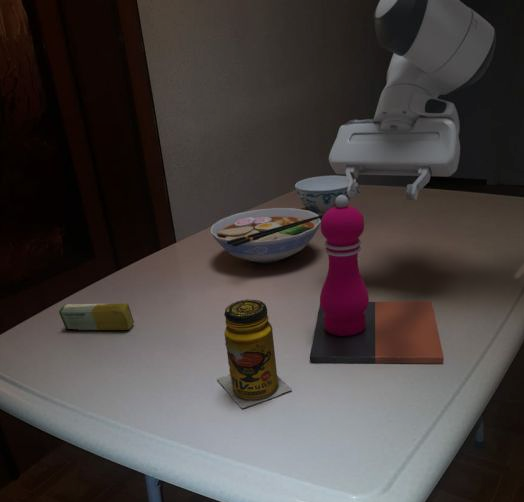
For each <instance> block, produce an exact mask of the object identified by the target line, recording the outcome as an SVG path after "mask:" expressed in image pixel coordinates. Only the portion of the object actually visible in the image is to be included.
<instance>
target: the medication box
mask: <svg viewBox="0 0 524 502" xmlns="http://www.w3.org/2000/svg"><path fill="white" fill-rule="evenodd" d="M58 315H59V317H60V318H61V320H62V323H63V325H64V328H65V330H66V329H78V330H77V331H129V330H131V328H132V327H133V326H134V323H135V320H134V317H133V314H132V312H131V308H130V305H129V303H125V302H124V303H121V302H120V303H65V304H64V305H63V306H62V307H61V308H60V309H59V311H58Z"/></svg>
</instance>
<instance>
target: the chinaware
mask: <svg viewBox="0 0 524 502" xmlns="http://www.w3.org/2000/svg"><path fill="white" fill-rule="evenodd" d="M354 182H355V183H357V179H354ZM348 185H349V182H348V179H347V176H346V175H321V176H313V177H308V178H305V179H302V180H299V181H297V182H296V183H295V185H294V188H295V190H296V194H297V197H298V199H299V200H300V202H301V203H302V205H303V206H305V208H307V209H308V211H310V212H313V213H315V214H317V215H319V216H320V215H324V214H325V213H326V211H328V210H329V209H331V208H333V207H335V206H336V204H335V200H336V198H337V197H338V196H339V195H345V196H346V197H347V198H348V203H349V202H350V201H351V199H352V197H349V196H348V194H347V188H348Z"/></svg>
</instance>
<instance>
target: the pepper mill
mask: <svg viewBox="0 0 524 502" xmlns="http://www.w3.org/2000/svg"><path fill="white" fill-rule="evenodd" d="M335 204H336V206H335V207H333V208H331V209H329V210H328V211H326V213H325V214H324V215H323V217H322V218H321V219H320V220H321V223H320V232H321V234H322V236H323V238H324V239H326V241H325V242H324V246H325V249H324V252H325V253H326V254H327V256H328V270H327V275H326V278H325V281H324V283H323V286H322V288H321V291H320V295H319V306H321V309H322V310H323V311H324V312H325V313H326V314H325V316H324V328H325V330H326V331H327V332H329V333H330V334H333V335H338V336H350V335H355V334H358V333H360V332H362V331H363V330H364V329H365V326H366V316H365V314H364V313H363V312H364V311H365V310H366V308H367V307H368V304H369V302H370V298H369V291H368V287H367V286H366V283H365V282H364V279H363V277H362V275H361V272H360V269H359V262H358V261H359V260H358V259H359V258H358V256H359V253H360V252H361V249H362V247H361V244H362V241H361V240H360V237H361V235H363V232H364V230H365V220H364V216H363V214H362V212H361V211H360V210H359V209H358V208H356V207H354V206H351V205H348V204H349V202H348V198H347V197H346V196H345V195H339V196H338V197H337V198H336V200H335Z"/></svg>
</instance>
